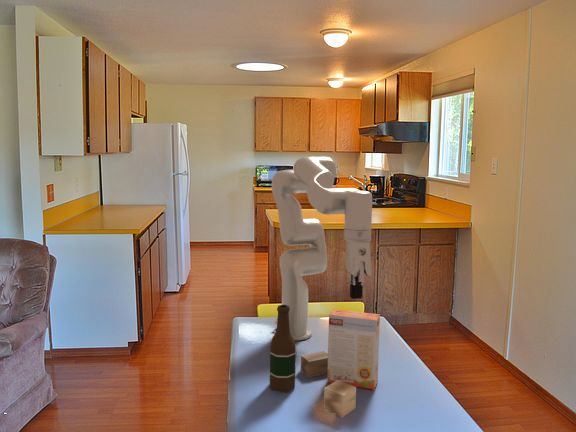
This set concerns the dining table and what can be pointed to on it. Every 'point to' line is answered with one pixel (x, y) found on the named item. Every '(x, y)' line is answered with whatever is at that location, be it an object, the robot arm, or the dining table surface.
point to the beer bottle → (282, 354)
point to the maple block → (339, 398)
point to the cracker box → (353, 348)
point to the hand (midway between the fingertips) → (355, 297)
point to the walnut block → (314, 363)
